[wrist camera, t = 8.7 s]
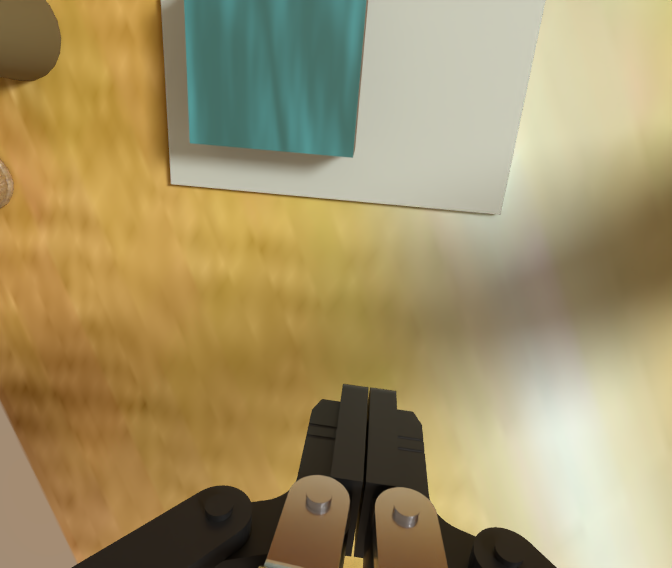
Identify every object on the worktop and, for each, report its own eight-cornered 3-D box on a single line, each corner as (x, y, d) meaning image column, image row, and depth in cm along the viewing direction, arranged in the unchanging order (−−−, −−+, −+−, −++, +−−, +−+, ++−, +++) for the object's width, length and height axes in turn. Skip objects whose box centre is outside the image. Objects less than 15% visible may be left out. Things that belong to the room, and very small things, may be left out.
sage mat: (555, -61, 29) (558, -63, 28) (498, 212, 35) (500, 214, 35) (159, -89, 30) (155, -91, 29) (173, 182, 36) (170, 184, 36)
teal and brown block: (367, -14, 27) (182, -28, 27) (352, 157, 30) (189, 143, 31) (368, -6, 30) (203, -18, 30) (355, 149, 34) (207, 136, 34)
